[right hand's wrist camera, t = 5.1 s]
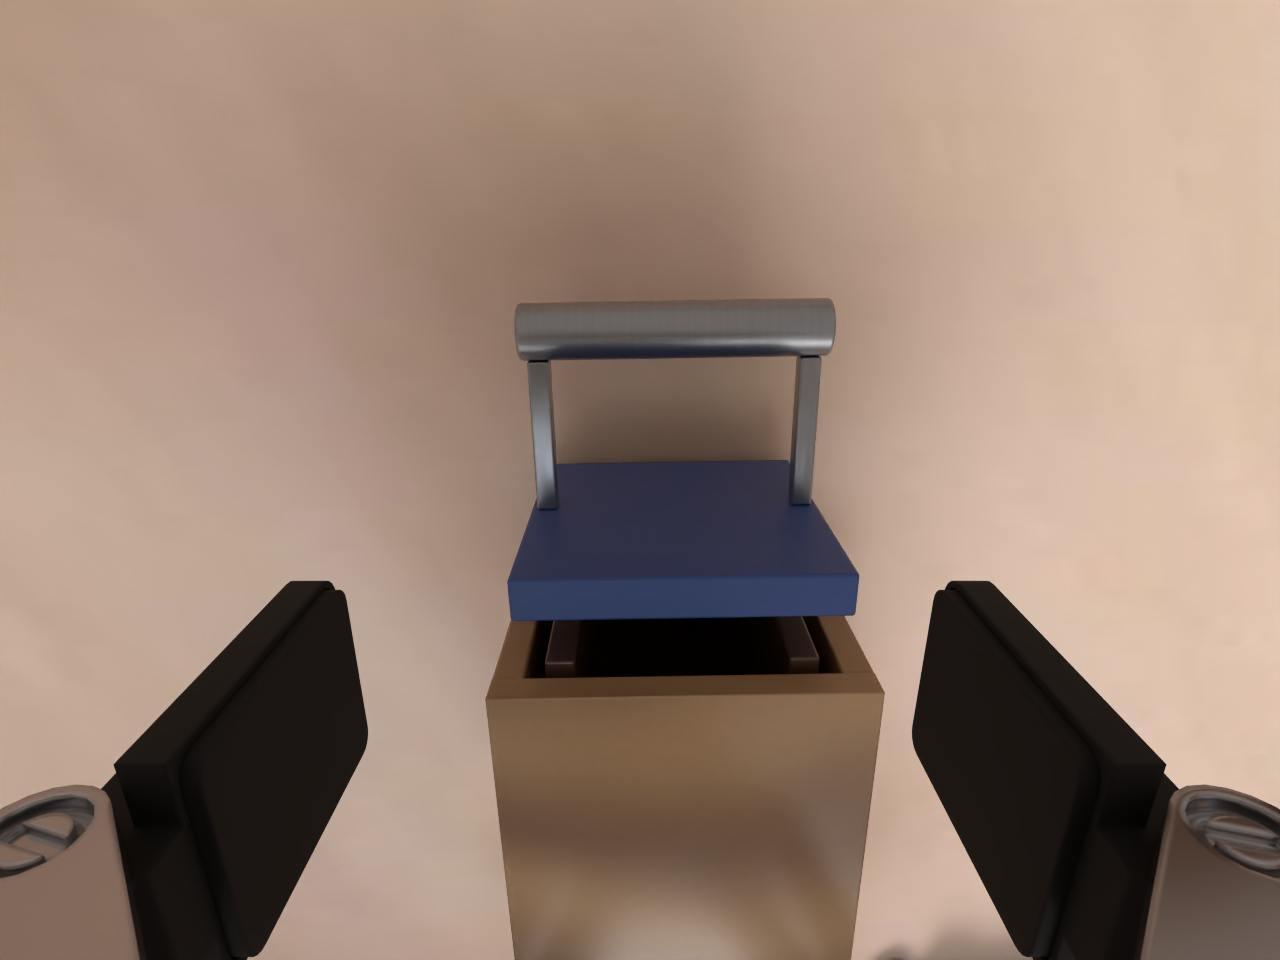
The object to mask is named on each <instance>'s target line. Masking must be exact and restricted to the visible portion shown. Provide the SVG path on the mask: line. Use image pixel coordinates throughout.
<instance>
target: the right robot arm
mask: <svg viewBox="0 0 1280 960" xmlns="http://www.w3.org/2000/svg"><path fill="white" fill-rule="evenodd" d="M367 739H368V726H367V720H366V714H365V708H364V702H363V696H362V690H361V684H360V678H359V672H358V666H357V660H356V654H355V648H354V642H353V636H352V630H351V624H350V618H349V612H348V606H347V600H346V596H345V594H344V592H343V591H341V590H335V588H334V586H333V584H332V583H331V582H329V581H291V582H289V583H288V584H286V585H285V586H284V588H283V589H282V590H281V591H280V592H279V593H278V594H277V595H276V596H275V597H274V598H273V599H272V600H271V601H270V602H269V603H268V604H267V605H266V606H265V607H264V608H263V609H262V610H261V611H260V613H259V614H258V615H257V616H256V617H255V618H254V619H253V620H252V621H251V622H250V623H249V624H248V625H247V626H246V627H245V628H244V629H243V630H242V631H241V632H240V633H239V634H238V635H237V636H236V638H235V639H234V640H233V641H232V642H231V643H230V644H229V645H228V646H227V647H226V648H225V649H224V650H223V651H222V652H221V653H220V654H219V655H218V656H217V657H216V658H215V659H214V660H213V661H212V663H211V664H210V665H209V666H208V667H207V668H206V669H205V670H204V671H203V672H202V673H201V674H200V675H199V676H198V677H197V678H196V679H195V680H194V681H193V682H192V683H191V684H190V685H189V686H188V688H187V689H186V690H185V691H184V692H183V693H182V694H181V695H180V696H179V697H178V698H177V699H176V700H175V701H174V702H173V703H172V704H171V705H170V706H169V707H168V708H167V709H166V710H165V711H164V713H163V714H162V715H161V716H160V717H159V718H158V719H157V720H156V721H155V722H154V723H153V724H152V725H151V726H150V727H149V728H148V729H147V730H146V731H145V732H144V733H143V734H142V735H141V737H140V738H139V739H138V740H137V741H136V742H135V743H134V744H133V745H132V746H131V747H130V748H129V749H128V750H127V751H126V752H125V753H124V754H123V755H122V756H121V757H120V758H119V759H118V760H117V762H116V763H115V764H114V767H115V770H116V774H115V775H114V776H113V777H112V778H111V779H110V780H109V781H108V782H107V783H106V784H105V785H104V787H103V788H102V789H99V788H96V787H94V786H87V785H70V786H63V787H57V788H52V789H49V790H45V791H42V792H39V793H36V794H33V795H29V796H27V797H25V798H23V799H21V800H18V801H16V802H14V803H12V804H10V805H8V806H5V807H3V808H2V809H0V960H247V958H248V957H254V956H257V955H258V954H259V953H260V952H261V951H262V949H263V948H264V946H265V944H266V942H267V940H268V938H269V937H270V935H271V933H272V931H273V929H274V927H275V925H276V923H277V921H278V919H279V917H280V915H281V913H282V911H283V909H284V907H285V905H286V903H287V902H288V900H289V898H290V896H291V894H292V892H293V890H294V888H295V886H296V884H297V882H298V880H299V878H300V876H301V874H302V872H303V870H304V868H305V867H306V865H307V863H308V861H309V859H310V857H311V855H312V853H313V851H314V849H315V847H316V845H317V843H318V841H319V839H320V837H321V835H322V833H323V832H324V830H325V828H326V826H327V824H328V822H329V820H330V818H331V816H332V814H333V812H334V810H335V808H336V806H337V804H338V802H339V800H340V798H341V797H342V795H343V793H344V791H345V789H346V787H347V785H348V783H349V781H350V779H351V777H352V775H353V773H354V771H355V769H356V767H357V765H358V763H359V762H360V760H361V758H362V756H363V754H364V751H365V749H366V745H367ZM912 739H913V745H914V749H915V751H916V754H917V756H918V758H919V760H920V762H921V763H922V765H923V767H924V769H925V771H926V773H927V775H928V777H929V779H930V781H931V783H932V785H933V787H934V789H935V791H936V793H937V795H938V797H939V798H940V800H941V802H942V804H943V806H944V808H945V810H946V812H947V814H948V816H949V818H950V820H951V822H952V824H953V826H954V828H955V830H956V832H957V833H958V835H959V837H960V839H961V841H962V843H963V845H964V847H965V849H966V851H967V853H968V855H969V857H970V859H971V861H972V863H973V865H974V867H975V868H976V870H977V872H978V874H979V876H980V878H981V880H982V882H983V884H984V886H985V888H986V890H987V892H988V894H989V896H990V898H991V900H992V902H993V903H994V905H995V907H996V909H997V911H998V913H999V915H1000V917H1001V919H1002V921H1003V923H1004V925H1005V927H1006V929H1007V931H1008V933H1009V935H1010V937H1011V938H1012V940H1013V942H1014V944H1015V946H1016V948H1017V949H1018V951H1019V952H1020V953H1021V954H1022V955H1023V956H1026V957H1032V958H1033V960H1280V809H1278V808H1277V807H1275V806H1272V805H1270V804H1268V803H1266V802H1264V801H1262V800H1259V799H1257V798H1255V797H1253V796H1251V795H1247V794H1244V793H1241V792H1238V791H1235V790H1231V789H1228V788H1223V787H1217V786H1210V785H1193V786H1186V787H1184V788H1181V789H1178V788H1177V787H1176V785H1175V784H1174V783H1173V782H1172V781H1171V780H1170V779H1169V778H1168V777H1167V776H1166V775H1165V774H1164V770H1165V767H1166V764H1165V763H1164V762H1163V760H1162V759H1161V758H1160V757H1159V756H1158V755H1157V754H1156V753H1155V752H1154V751H1153V750H1152V749H1151V748H1150V747H1149V746H1148V745H1147V744H1146V743H1145V742H1144V741H1143V740H1142V739H1141V738H1140V737H1139V735H1138V734H1137V733H1136V732H1135V731H1134V730H1133V729H1132V728H1131V727H1130V726H1129V725H1128V724H1127V723H1126V722H1125V721H1124V720H1123V719H1122V718H1121V717H1120V716H1119V715H1118V714H1117V713H1116V711H1115V710H1114V709H1113V708H1112V707H1111V706H1110V705H1109V704H1108V703H1107V702H1106V701H1105V700H1104V699H1103V698H1102V697H1101V696H1100V695H1099V694H1098V693H1097V692H1096V691H1095V690H1094V689H1093V688H1092V686H1091V685H1090V684H1089V683H1088V682H1087V681H1086V680H1085V679H1084V678H1083V677H1082V676H1081V675H1080V674H1079V673H1078V672H1077V671H1076V670H1075V669H1074V668H1073V667H1072V666H1071V665H1070V664H1069V663H1068V661H1067V660H1066V659H1065V658H1064V657H1063V656H1062V655H1061V654H1060V653H1059V652H1058V651H1057V650H1056V649H1055V648H1054V647H1053V646H1052V645H1051V644H1050V643H1049V642H1048V641H1047V640H1046V639H1045V638H1044V636H1043V635H1042V634H1041V633H1040V632H1039V631H1038V630H1037V629H1036V628H1035V627H1034V626H1033V625H1032V624H1031V623H1030V622H1029V621H1028V620H1027V619H1026V618H1025V617H1024V616H1023V615H1022V614H1021V613H1020V611H1019V610H1018V609H1017V608H1016V607H1015V606H1014V605H1013V604H1012V603H1011V602H1010V601H1009V600H1008V599H1007V598H1006V597H1005V596H1004V595H1003V594H1002V593H1001V592H1000V591H999V590H998V589H997V588H996V586H995V585H994V584H992V583H991V582H989V581H951V582H949V583H948V584H947V586H946V588H945V590H939V591H937V592H936V594H935V596H934V600H933V606H932V612H931V618H930V624H929V630H928V636H927V642H926V648H925V654H924V660H923V666H922V672H921V678H920V684H919V690H918V696H917V702H916V708H915V714H914V720H913V726H912Z"/></svg>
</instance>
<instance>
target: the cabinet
mask: <svg viewBox="0 0 1280 960" xmlns="http://www.w3.org/2000/svg"><path fill="white" fill-rule="evenodd" d="M802 617H803V620H804V622H805V625H806V627H807V629H808V632H809V634H810V637H811V639H812V641H813V644H814V646H815V649H816V651H817V654H818V656H819V658H820V659H819V670H818V674H773V675H713V676H653V677H593V678H546V672H545V659H546V654H547V650H548V645H549V640H550V635H551V630H552V625H553V620H549V621H512V619H511V621H510V625H509V628H508V631H507V634H506V637H505V641H504V644H503V647H502V650H501V654H500V657H499V660H498V663H497V666H496V670H495V673H494V676H493V679H492V681H491V684H490V687H489V690H488V693H487V697H486V708H487V717H488V726H489V735H490V744H491V753H492V761H493V770H494V779H495V788H496V797H497V806H498V815H499V824H500V833H501V842H502V850H503V859H504V868H505V877H506V886H507V895H508V904H509V913H510V922H511V931H512V939H513V948H514V957H515V960H851V953H852V945H853V937H854V930H855V922H856V914H857V906H858V898H859V890H860V882H861V875H862V867H863V859H864V851H865V843H866V835H867V828H868V820H869V812H870V804H871V796H872V788H873V781H874V773H875V765H876V757H877V749H878V741H879V733H880V726H881V718H882V710H883V702H884V694H885V693H884V690H883V689H882V687H881V685H880V683H879V681H878V679H877V677H876V675H875V673H873V670H872V668H871V666H870V664H869V663H868V661H867V659H866V657H865V655H864V653H863V651H862V649H861V647H860V645H859V643H858V641H857V639H856V638H855V636H854V634H853V632H852V630H851V628H850V626H849V624H848V622H847V620H846V618H845V616H802Z"/></svg>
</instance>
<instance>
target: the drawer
mask: <svg viewBox="0 0 1280 960" xmlns="http://www.w3.org/2000/svg"><path fill="white" fill-rule="evenodd" d="M835 332H836V315H835V308H834V305H833V302H832V300H831V299H829V298H805V299H746V300H688V301H629V302H570V303H520V304H518V305H517V308H516V312H515V340H516V347H517V352H518V355H519V358H520V359H521V360H523V361H528V363H527V367H528V381H529V395H530V408H531V422H532V436H533V450H534V464H535V477H536V491H537V499H536V502H535V505H534V508H533V510H532V513H531V516H530V519H529V522H528V525H527V528H526V530H525V533H524V536H523V539H522V542H521V545H520V547H519V550H518V553H517V556H516V559H515V562H514V564H513V567H512V570H511V573H510V576H509V579H508V581H507V584H508V594H509V605H510V616H511V619H512V621H549V620H553V625H552V630H551V635H550V640H549V645H548V650H547V654H546V659H545V672H546V678H593V677H653V676H713V675H773V674H818V670H819V659H820V658H819V656H818V654H817V651H816V649H815V646H814V644H813V641H812V639H811V637H810V634H809V632H808V629H807V627H806V625H805V622H804V620H803V617H802V616H849V615H854V614H855V611H856V602H857V592H858V583H859V574H858V572H857V571H856V569H855V567H854V566H853V564H852V563H851V561H850V559H849V558H848V556H847V555H846V553H845V551H844V550H843V548H842V547H841V545H840V543H839V542H838V540H837V539H836V537H835V535H834V534H833V532H832V531H831V529H830V527H829V526H828V524H827V523H826V521H825V519H824V518H823V516H822V514H821V513H820V511H819V510H818V508H817V506H816V505H815V503H814V502H813V500H812V498H811V493H812V479H813V466H814V453H815V439H816V426H817V412H818V399H819V386H820V372H821V357H819V356H826V355H828V354H829V353H830V352H831V350H832V347H833V344H834V339H835ZM777 356H797V361H796V377H795V393H794V410H793V426H792V442H791V458H790V463H789V461H787V460H762V461H703V462H644V463H584V464H557V459H556V442H555V426H554V410H553V393H552V377H551V360H599V359H658V358H718V357H777Z"/></svg>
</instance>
